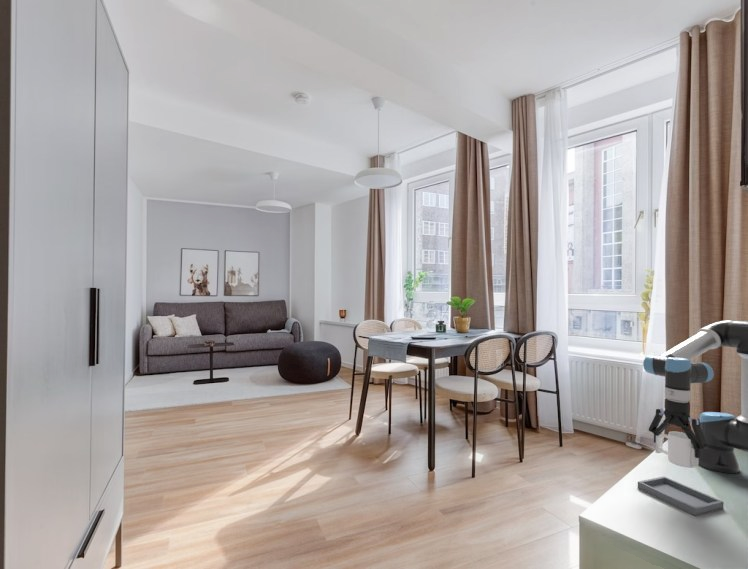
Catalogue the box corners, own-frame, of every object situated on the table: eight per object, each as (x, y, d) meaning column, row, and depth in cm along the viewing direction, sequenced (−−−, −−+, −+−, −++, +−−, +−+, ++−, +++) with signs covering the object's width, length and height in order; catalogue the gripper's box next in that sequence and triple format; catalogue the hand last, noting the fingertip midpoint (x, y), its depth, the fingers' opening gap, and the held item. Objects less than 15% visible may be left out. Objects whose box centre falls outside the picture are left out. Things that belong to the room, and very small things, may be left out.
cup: (692, 470, 139) (692, 441, 140) (652, 458, 149) (653, 430, 149) (699, 464, 144) (700, 436, 145) (660, 453, 154) (661, 426, 154)
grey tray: (664, 482, 157) (664, 476, 158) (723, 509, 139) (723, 501, 139) (637, 488, 152) (637, 481, 152) (695, 516, 133) (695, 508, 133)
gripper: (638, 392, 157) (637, 447, 157) (707, 410, 135) (706, 474, 134) (651, 391, 160) (650, 445, 159) (721, 408, 137) (720, 471, 137)
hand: (676, 459), depth 147 cm, fingers closed on cup, 12 cm apart
